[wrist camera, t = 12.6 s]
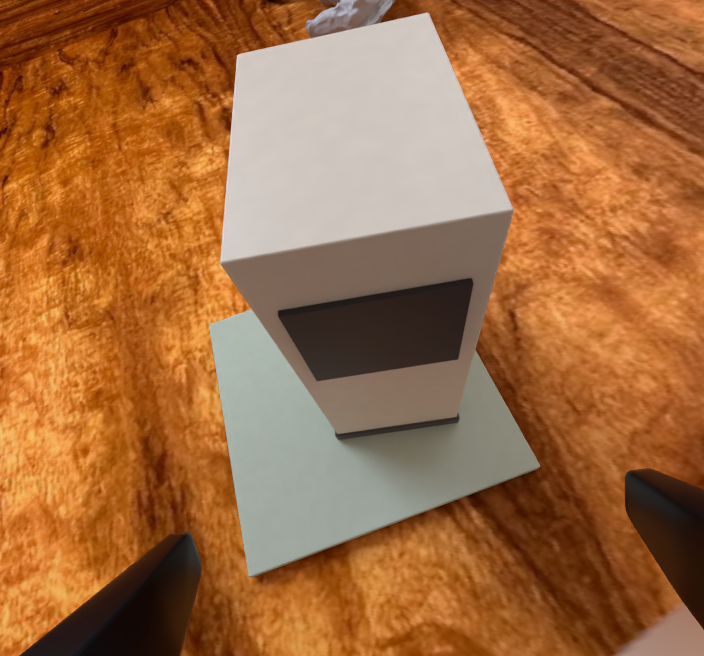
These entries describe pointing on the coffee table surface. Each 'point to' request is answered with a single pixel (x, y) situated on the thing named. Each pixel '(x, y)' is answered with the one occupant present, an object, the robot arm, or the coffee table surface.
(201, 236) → the coffee table surface
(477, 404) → the mat
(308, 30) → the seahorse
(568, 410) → the coffee table surface
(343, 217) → the white tilted block
